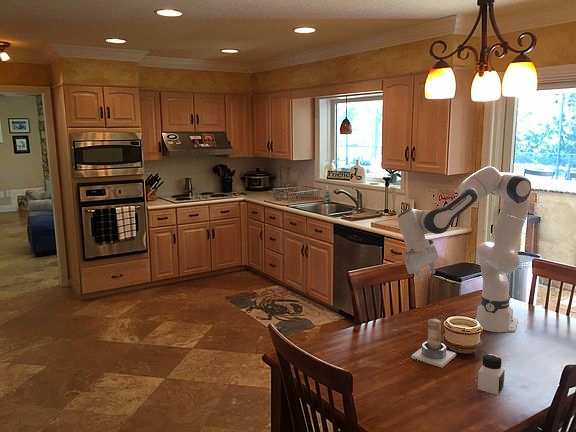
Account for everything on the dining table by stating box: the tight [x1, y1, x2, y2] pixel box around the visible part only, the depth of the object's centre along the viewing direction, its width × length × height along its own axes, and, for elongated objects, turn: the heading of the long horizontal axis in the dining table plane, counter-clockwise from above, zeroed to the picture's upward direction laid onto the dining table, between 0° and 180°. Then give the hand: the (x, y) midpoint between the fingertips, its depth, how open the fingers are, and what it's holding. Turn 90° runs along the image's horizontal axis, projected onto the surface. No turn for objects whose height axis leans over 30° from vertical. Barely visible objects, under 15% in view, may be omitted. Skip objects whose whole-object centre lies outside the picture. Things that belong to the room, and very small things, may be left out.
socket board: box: [411, 340, 457, 369], centre depth 194 cm, size 13×13×5 cm
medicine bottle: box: [477, 353, 505, 396], centre depth 169 cm, size 7×7×12 cm
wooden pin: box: [427, 318, 442, 350], centre depth 193 cm, size 5×5×14 cm
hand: (427, 276), depth 205 cm, fingers open, 8 cm apart
